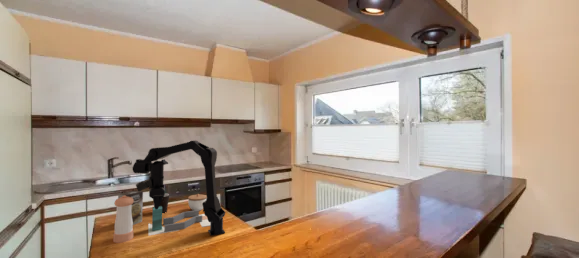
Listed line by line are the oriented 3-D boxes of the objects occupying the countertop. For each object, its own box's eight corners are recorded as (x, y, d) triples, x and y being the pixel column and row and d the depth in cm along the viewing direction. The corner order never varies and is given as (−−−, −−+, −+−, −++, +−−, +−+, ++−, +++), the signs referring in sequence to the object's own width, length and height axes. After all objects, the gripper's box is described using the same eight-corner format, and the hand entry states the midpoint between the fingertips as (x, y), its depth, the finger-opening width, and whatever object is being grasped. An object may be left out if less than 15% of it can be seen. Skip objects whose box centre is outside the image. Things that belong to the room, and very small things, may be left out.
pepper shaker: (111, 239, 108) (112, 195, 108) (131, 234, 113) (131, 192, 113) (115, 245, 103) (116, 198, 103) (135, 239, 108) (136, 195, 108)
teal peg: (161, 229, 119) (162, 208, 119) (152, 230, 117) (152, 209, 117) (161, 226, 122) (161, 206, 122) (152, 227, 120) (152, 207, 120)
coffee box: (126, 228, 120) (126, 195, 121) (116, 226, 122) (117, 193, 123) (142, 222, 129) (143, 190, 129) (133, 220, 131) (134, 189, 131)
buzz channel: (219, 225, 128) (220, 217, 128) (148, 237, 112) (148, 228, 112) (211, 214, 144) (211, 207, 144) (148, 223, 128) (148, 216, 128)
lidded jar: (210, 207, 155) (210, 192, 155) (199, 213, 145) (199, 196, 145) (195, 206, 158) (195, 191, 158) (184, 211, 148) (184, 195, 148)
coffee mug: (154, 210, 147) (154, 193, 147) (170, 209, 150) (170, 192, 150) (149, 217, 136) (149, 199, 136) (166, 215, 139) (167, 197, 139)
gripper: (137, 172, 123) (137, 203, 123) (136, 178, 107) (135, 214, 107) (163, 170, 129) (162, 200, 129) (165, 176, 113) (164, 211, 113)
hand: (156, 206), depth 119 cm, fingers open, 9 cm apart
